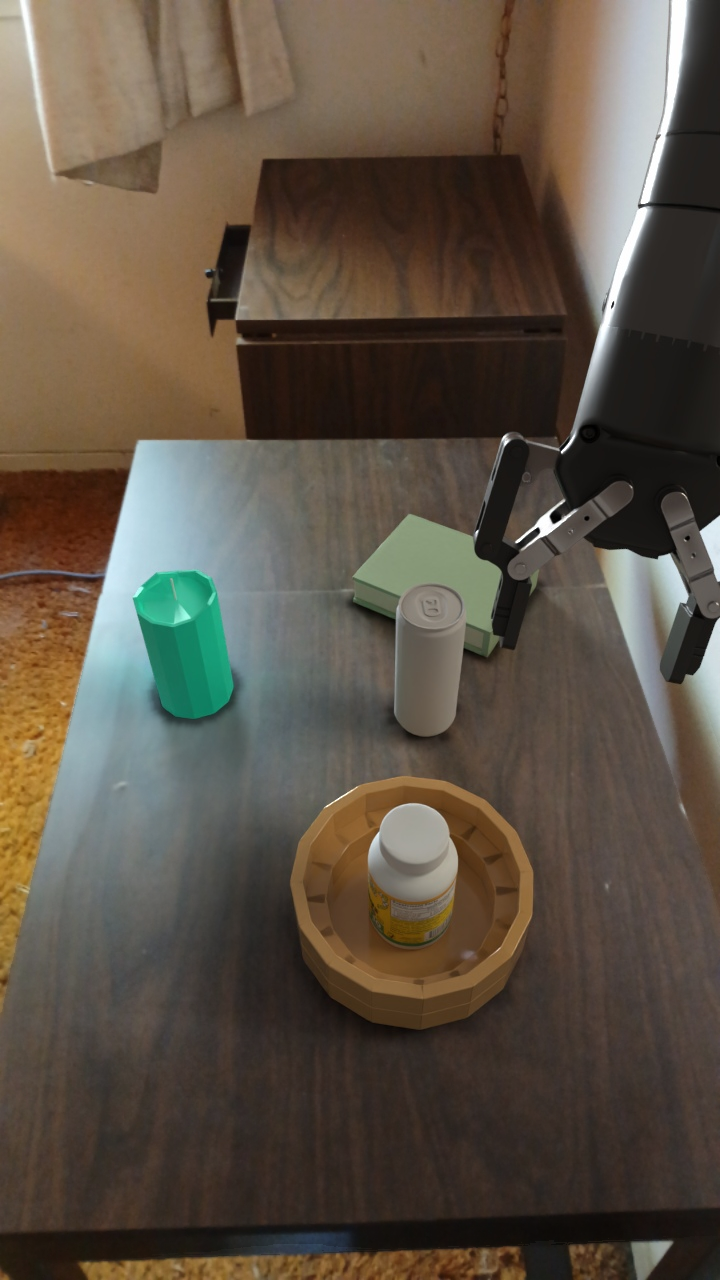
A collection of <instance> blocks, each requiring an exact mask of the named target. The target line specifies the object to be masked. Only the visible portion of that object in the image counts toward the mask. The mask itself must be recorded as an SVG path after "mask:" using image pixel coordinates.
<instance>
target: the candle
mask: <svg viewBox="0 0 720 1280" xmlns="http://www.w3.org/2000/svg"><path fill="white" fill-rule="evenodd" d="M132 601H133V604H134V608H135V611H136V612H135V613H136V615H137V619H138V622H139V627H140V630H141V633H142V638H143V643H144V645H145V648H146V653H147V655H148V660H149V663H150V668H151V671H152V674H153V678H154V683H155V686H156V688H157V694H158V697H159V700H160V703H161V707H162V708H163V709H164V710H166V711H167V712H168V713H170V714H171V715H173V716H174V717H177V718H185V719H192V720H196V719H197V720H198V719H200V718H204V717H207V716H211V715H215V714H216V713H217V712H218V711H220V709H222V708H223V707H224V706H226V705H227V703H229V702H230V698H231V697H232V693H233V690H234V688H235V687H234V685H235V684H234V680H233V675H232V669H231V664H230V663H231V662H230V657H229V652H228V646H227V641H226V640H227V639H226V636H225V635H226V634H225V629H224V624H223V618H222V617H223V616H222V612H221V611H222V610H221V607H220V606H221V605H220V601H219V594H218V591H217V588H216V585H215V583H214V579H213V577H212V576H210V575H208V574H206V573H205V572H203V571H201V570H200V569H182V570H169V571H157V572H155V573H153V575H151V577H149V578H148V579H147V580H146V581H145V582H144V583H143V584H142V585H140V586H139V588H138V589H137V591H136V592H135V593H134V595H133V596H132Z"/></svg>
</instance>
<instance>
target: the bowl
mask: <svg viewBox="0 0 720 1280" xmlns="http://www.w3.org/2000/svg"><path fill="white" fill-rule="evenodd" d="M412 803H413V804H422V805H426V806H428V807H431V808H432V809H434V810H436V811H437V812H438V813H439V814H440V815H441V816H442V817H443V818H444V820H445V821H446V823H447V825H448V829H449V837H450V838H451V840H452V841H453V843H454V845H455V848H456V851H457V855H458V870H457V878H456V885H455V892H454V901H453V909H452V916H451V921H450V924H449V926H448V928H447V930H446V932H445V933H444V935H443V936H442V937H441V938H440V939H439V940H438V941H436V942H435V943H433V944H431V945H430V946H427V947H425V948H421V949H402V948H398V947H395V946H393V945H391V944H389V943H388V942H386V941H385V940H384V939H383V938H382V937H381V936H380V935H379V934H378V932H377V931H376V929H375V928H374V926H373V924H372V922H371V919H370V915H369V898H368V854H369V849H370V846H371V843H372V841H373V839H374V838H375V836H376V835H377V834H378V833H379V831H380V826H381V823H382V821H383V819H384V817H385V816H386V815H387V814H388V813H389V812H390V811H391V810H393V809H394V808H396V807H398V806H401V805H404V804H412ZM289 886H290V888H289V889H290V894H291V901H292V910H293V915H294V921H295V926H296V930H297V936H298V940H299V941H298V942H299V945H300V951H301V956H302V959H303V961H304V963H305V965H307V967H308V968H309V970H310V971H311V973H312V974H313V976H314V977H315V978H316V980H317V981H318V982H319V984H320V985H321V987H322V988H323V990H324V991H325V993H326V994H327V995H328V996H329V997H330V998H331V999H333V1000H334V1001H336V1002H337V1003H339V1004H341V1005H342V1006H344V1007H346V1008H347V1009H349V1010H350V1011H352V1012H354V1013H356V1014H357V1015H358V1016H360V1017H362V1018H363V1019H365V1020H366V1021H369V1022H370V1023H372V1024H379V1025H387V1026H393V1027H399V1028H406V1029H412V1030H418V1031H419V1030H424V1029H428V1028H429V1029H430V1028H433V1027H438V1026H440V1025H444V1024H448V1023H452V1022H456V1021H460V1020H464V1019H466V1018H469V1017H470V1016H471V1015H473V1014H474V1013H475V1012H477V1011H478V1010H479V1009H480V1008H481V1007H483V1006H484V1005H485V1004H486V1003H488V1002H489V1001H490V1000H492V998H494V997H495V996H497V995H498V994H499V993H500V992H501V991H502V990H504V989H505V987H506V985H507V983H508V981H509V979H510V977H511V974H512V972H513V971H514V969H515V966H516V965H517V963H518V961H519V958H520V957H521V955H522V953H523V951H524V947H525V944H526V941H527V937H528V934H529V933H528V932H529V929H530V926H531V922H532V919H533V914H534V913H533V911H534V909H533V907H534V870H533V867H532V865H531V863H530V860H529V858H528V856H527V853H526V849H524V845H523V843H522V841H521V839H520V836H519V834H518V831H516V830H515V828H514V827H513V826H512V825H511V824H510V823H509V822H508V821H507V820H506V819H505V818H504V817H503V816H502V815H501V814H500V813H499V812H498V811H497V810H496V809H495V808H494V807H493V806H492V805H491V803H489V802H488V801H487V800H486V799H485V798H482V797H480V796H478V795H476V794H474V793H472V792H470V791H468V790H465V789H464V788H462V787H459V786H458V785H456V784H453V783H451V782H449V781H446V780H441V779H440V780H439V779H432V778H424V777H415V776H407V775H403V776H402V775H401V776H396V777H391V778H387V779H386V778H385V779H382V780H381V779H380V780H377V781H372V782H367V783H363V784H359V785H358V786H356V787H354V788H353V789H351V790H350V791H347V793H345V794H343V795H341V796H339V798H337V799H335V800H334V801H332V802H331V803H329V804H327V805H326V806H324V807H323V808H322V810H321V811H320V813H319V814H318V815H317V817H316V818H315V819H314V821H313V822H312V823H311V825H310V826H309V827H308V829H307V830H306V831H305V833H304V834H303V836H302V837H301V838H300V840H299V841H298V844H297V849H296V854H295V857H294V862H293V866H292V870H291V876H290V880H289Z"/></svg>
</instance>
